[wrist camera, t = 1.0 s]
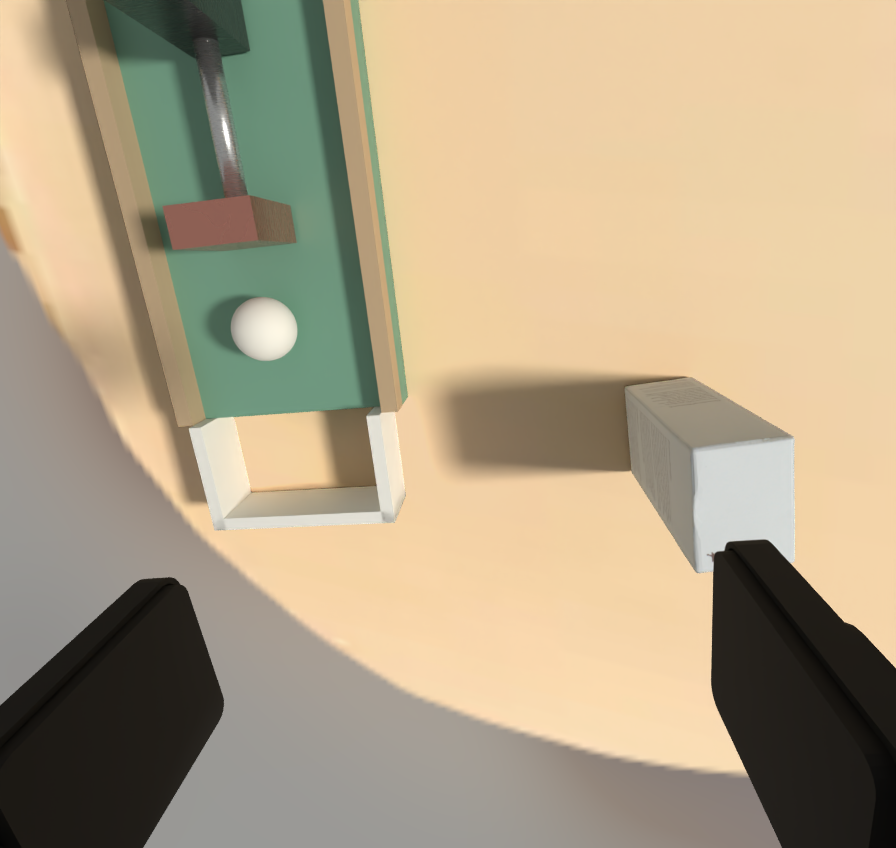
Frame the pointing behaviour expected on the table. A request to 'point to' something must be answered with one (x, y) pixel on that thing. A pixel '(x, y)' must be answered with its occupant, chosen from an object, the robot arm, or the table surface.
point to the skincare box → (711, 468)
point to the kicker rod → (214, 128)
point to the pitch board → (269, 177)
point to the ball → (264, 328)
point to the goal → (296, 507)
